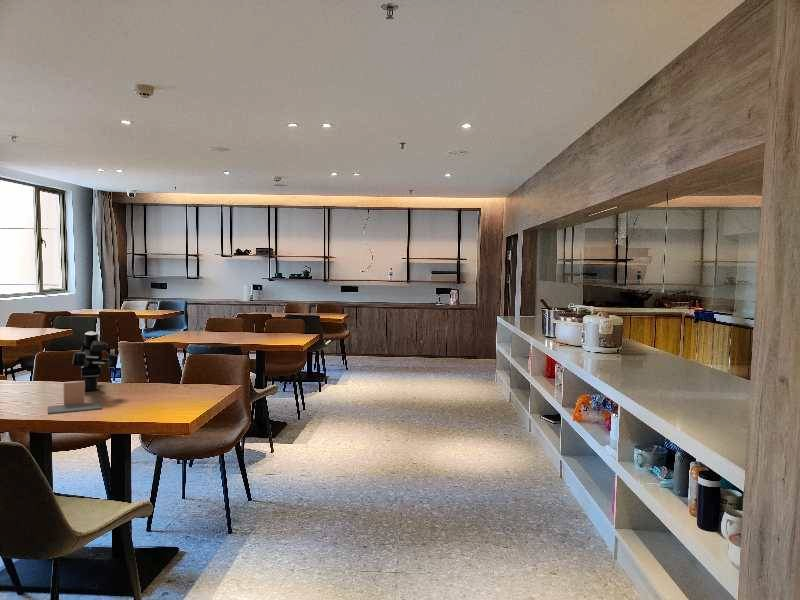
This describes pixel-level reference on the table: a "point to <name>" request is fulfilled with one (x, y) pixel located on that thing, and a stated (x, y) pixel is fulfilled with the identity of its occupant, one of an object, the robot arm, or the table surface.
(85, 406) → the mat
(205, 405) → the table surface
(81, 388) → the glazed tile
